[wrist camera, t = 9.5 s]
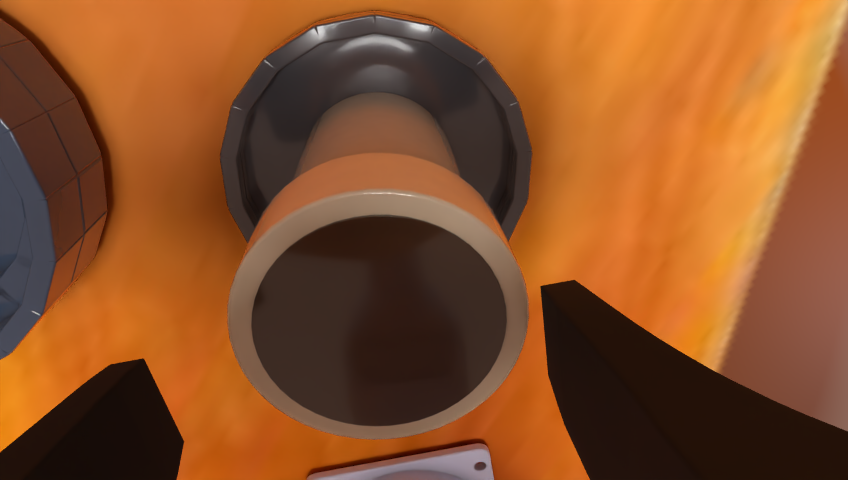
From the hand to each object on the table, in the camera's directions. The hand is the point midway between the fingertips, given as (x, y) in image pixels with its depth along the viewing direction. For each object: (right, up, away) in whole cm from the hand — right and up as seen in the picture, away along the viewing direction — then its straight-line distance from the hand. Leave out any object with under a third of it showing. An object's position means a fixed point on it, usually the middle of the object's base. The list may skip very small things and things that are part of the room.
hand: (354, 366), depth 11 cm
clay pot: (0, +5, +8) cm, 10 cm away
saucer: (0, +5, +9) cm, 10 cm away
